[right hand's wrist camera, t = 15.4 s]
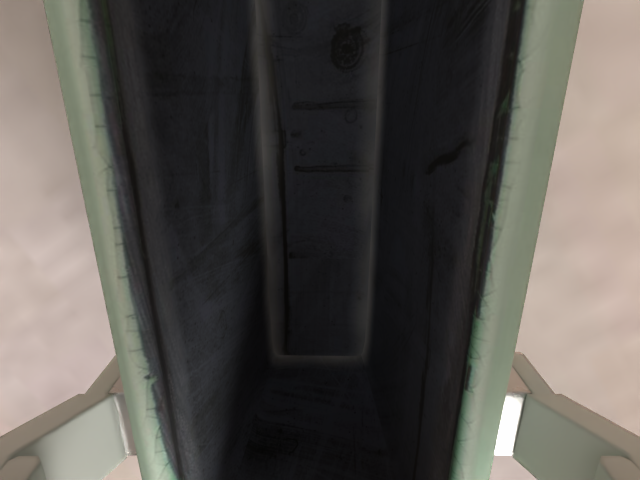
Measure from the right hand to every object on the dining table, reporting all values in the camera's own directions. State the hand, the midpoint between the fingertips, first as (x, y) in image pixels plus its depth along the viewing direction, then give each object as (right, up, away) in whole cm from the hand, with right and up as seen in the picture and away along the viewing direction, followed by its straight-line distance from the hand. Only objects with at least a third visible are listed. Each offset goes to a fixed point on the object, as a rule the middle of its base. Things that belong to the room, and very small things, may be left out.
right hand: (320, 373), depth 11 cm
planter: (0, +10, +1) cm, 10 cm away
